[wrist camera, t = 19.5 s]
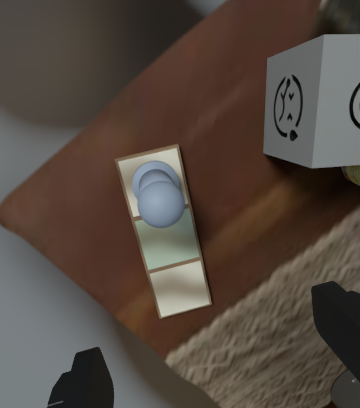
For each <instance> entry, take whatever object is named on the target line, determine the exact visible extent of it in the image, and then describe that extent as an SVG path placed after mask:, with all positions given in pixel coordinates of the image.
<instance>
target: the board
mask: <svg viewBox="0 0 360 408" xmlns="http://www.w3.org/2000/svg"><path fill="white" fill-rule="evenodd" d="M155 160H156V161H162V162H165V163H167V164H168V165H170V166H171V167H172V168H173V170H174V171H175V173H176V174H177V176H178V179H179V189H180V191H181V192H182V194H183V196H184V200H185V209H184V213H183V215H182V217H181V218H180V220H179V221H178V222H177V223H175V224H174V225H172V226H170V227H167V228H155V227H152V226H150V225H148V224H147V223H146V222H145V221H144V220H143V219H142V218H141V216H140V214H139V212H138V207H137V202H138V200H137V199H136V197H135V195H134V193H133V189H132V179H133V176H134V173H135V171H136V170H137V169H138V168H139V167H140V166H141V165H142V164H144V163H146V162H148V161H155ZM115 163H116V167H117V170H118V174H119V177H120V181H121V184H122V188H123V191H124V195H125V198H126V202H127V205H128V209H129V213H130V216H131V220H132V223H133V227H134V230H135V234H136V237H137V241H138V244H139V248H140V251H141V255H142V258H143V262H144V266H145V269H146V273H147V276H148V280H149V283H150V287H151V290H152V294H153V297H154V301H155V304H156V308H157V311H158V315H159V318H160V319H161V318H165V317H168V316H172V315H176V314H179V313H183V312H187V311H190V310H194V309H197V308H201V307H205V306H208V305H212V302H211V297H210V293H209V288H208V283H207V278H206V273H205V269H204V264H203V259H202V254H201V250H200V245H199V240H198V235H197V230H196V226H195V221H194V216H193V211H192V207H191V202H190V197H189V192H188V187H187V183H186V178H185V173H184V168H183V164H182V159H181V154H180V149H179V145H178V144H175V145H171V146H166V147H162V148H158V149H154V150H149V151H145V152H141V153H136V154H132V155H128V156H123V157H119V158H115Z"/></svg>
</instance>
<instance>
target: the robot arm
mask: <svg viewBox="0 0 360 408" xmlns="http://www.w3.org/2000/svg"><path fill="white" fill-rule="evenodd" d="M311 294H312V305H313V316H314V323H315V326H316V328H317V330H318V332H319V334H320V336H321V337H322V338H323V340H324V341H325V342H326V343H327V344H328V345H329V347H330V348H331V349H332V350H333V351H334V353H335V354H336V355H337V356H338V357H339V359H340V360H341V361H342V362H343V363H344V365H345V366H346V367H347V368H348V369H349V370H347V371H345V372H344V373H343V374H342V375H341V376H340V377H339V378H338V379H337V380H336V381H335V383H334V385H333V387H332V390H331V399H332V401H333V403H334V404H335V406H336V407H337V408H360V294H359V293H357V292H354V291H349V292H347V291H345V290H344V289H343V288H342V287H341V286H339V285H338V284H337V283H336V282H334V281H330V282H326V283H323V284H319V285H316V286H313V287H312V289H311ZM113 404H114V388H113V382H112V379H111V376H110V373H109V371H108V368H107V365H106V363H105V360H104V358H103V355H102V352H101V350H100V348H99V347H95V348H92V349H88V350H85V351H81V352H78V353H76V355H75V357H74V361H73V365H72V369H71V371H69V372H66V373H63V374H62V375H61V377H60V378H59V380H58V381H57V383H56V384H55V386H54V387H53V389H52V392H51V395H50V398H49V401H48V407H47V408H113Z"/></svg>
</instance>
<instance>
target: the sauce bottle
mask: <svg viewBox="0 0 360 408" xmlns="http://www.w3.org/2000/svg"><path fill="white" fill-rule="evenodd" d="M341 168H342V172H343V174H344V176H345V178H346V179H347V180H350V181H352V182H354V183H355V184H357V185H359V186H360V165H352V166H341Z"/></svg>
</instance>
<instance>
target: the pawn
mask: <svg viewBox="0 0 360 408" xmlns="http://www.w3.org/2000/svg"><path fill="white" fill-rule="evenodd" d="M132 189H133V193H134V195H135V197H136V199H137V200H138V202H137V207H138V212H139V214H140V216H141V218H142V219H143V220H144V221H145V222H146V223H147V224H148V225H150V226H152V227H155V228H167V227H170V226H172V225H174V224H175V223H177V222H178V221H179V220H180V218H181V217H182V215H183V213H184V209H185V200H184V196H183V194H182V192H181V191H180V189H179V179H178V176H177V174H176V173H175V171H174V170H173V168H172V167H171V166H170V165H168V164H167V163H165V162H162V161H156V160H155V161H148V162H146V163H144V164H142V165H141V166H140V167H139V168H138V169H137V170H136V171H135V173H134V176H133V179H132Z"/></svg>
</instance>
